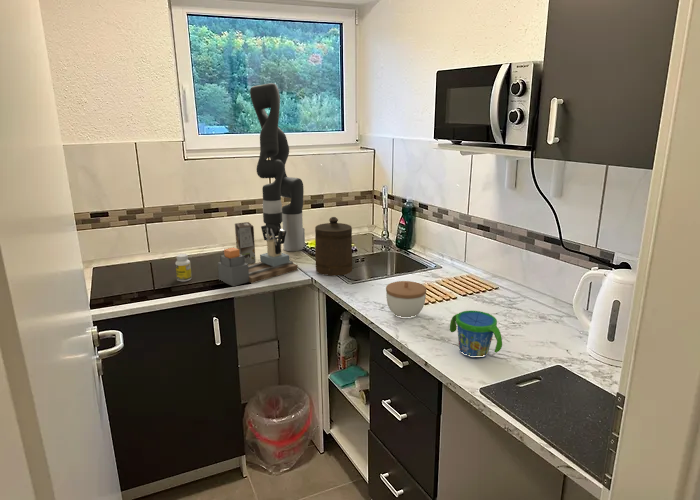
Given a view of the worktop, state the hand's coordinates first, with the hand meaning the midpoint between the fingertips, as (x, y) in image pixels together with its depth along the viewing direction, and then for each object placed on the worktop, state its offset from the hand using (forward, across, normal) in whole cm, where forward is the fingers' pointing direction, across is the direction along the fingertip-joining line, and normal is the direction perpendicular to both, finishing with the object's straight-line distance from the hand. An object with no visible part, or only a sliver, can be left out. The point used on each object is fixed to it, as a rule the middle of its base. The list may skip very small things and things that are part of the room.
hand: (274, 252), depth 196 cm
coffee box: (+8, +18, +2) cm, 20 cm away
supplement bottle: (+7, +15, +32) cm, 36 cm away
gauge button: (-2, 0, +20) cm, 20 cm away
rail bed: (+7, 0, +5) cm, 9 cm away
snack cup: (+7, -95, +5) cm, 95 cm away
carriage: (+4, 0, 0) cm, 4 cm away
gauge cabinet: (+7, 0, +20) cm, 21 cm away
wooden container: (+8, -18, -16) cm, 25 cm away
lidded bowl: (+7, -66, -2) cm, 66 cm away
